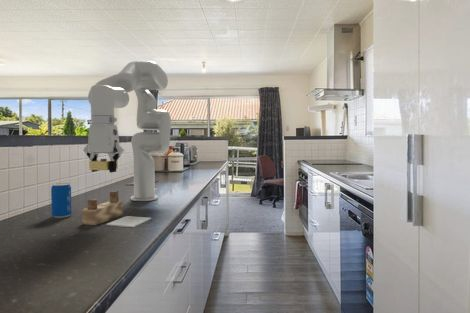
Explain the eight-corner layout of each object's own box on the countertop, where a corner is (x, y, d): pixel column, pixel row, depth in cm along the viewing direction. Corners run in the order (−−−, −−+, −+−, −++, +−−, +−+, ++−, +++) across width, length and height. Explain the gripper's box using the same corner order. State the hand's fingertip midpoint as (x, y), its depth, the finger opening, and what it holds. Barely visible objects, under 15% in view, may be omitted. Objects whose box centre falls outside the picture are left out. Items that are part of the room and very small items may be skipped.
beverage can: (63, 219, 119) (62, 185, 118) (47, 218, 120) (46, 184, 119) (75, 215, 125) (74, 183, 125) (60, 214, 126) (59, 182, 126)
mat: (126, 217, 123) (126, 215, 123) (151, 218, 120) (151, 217, 120) (106, 225, 111) (106, 224, 111) (133, 227, 109) (133, 226, 109)
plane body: (111, 213, 128) (111, 190, 127) (122, 214, 127) (122, 191, 126) (82, 224, 112) (82, 197, 112) (95, 225, 111) (94, 198, 111)
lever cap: (102, 167, 123) (101, 157, 123) (117, 168, 121) (117, 158, 121) (89, 169, 116) (89, 159, 116) (105, 170, 115) (105, 160, 114)
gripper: (130, 121, 119) (131, 171, 120) (88, 121, 123) (90, 169, 125) (118, 120, 112) (119, 174, 113) (74, 120, 116) (75, 172, 118)
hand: (103, 171), depth 119 cm, fingers closed on lever cap, 6 cm apart
